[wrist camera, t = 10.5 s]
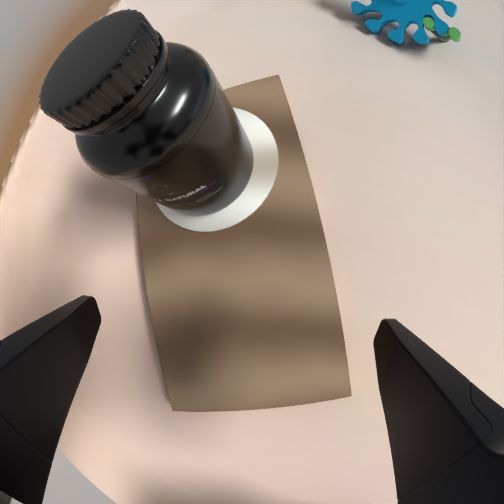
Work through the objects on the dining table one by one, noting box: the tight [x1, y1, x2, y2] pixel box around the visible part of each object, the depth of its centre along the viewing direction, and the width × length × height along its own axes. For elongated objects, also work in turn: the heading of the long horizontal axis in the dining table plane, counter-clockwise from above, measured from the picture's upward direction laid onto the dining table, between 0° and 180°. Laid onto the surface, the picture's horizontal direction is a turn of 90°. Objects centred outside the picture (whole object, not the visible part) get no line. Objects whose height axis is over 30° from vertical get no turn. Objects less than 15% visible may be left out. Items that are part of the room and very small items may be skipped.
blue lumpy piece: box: [351, 0, 461, 45], centre depth 15 cm, size 11×6×10 cm
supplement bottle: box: [39, 9, 254, 216], centre depth 12 cm, size 7×7×12 cm
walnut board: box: [136, 75, 351, 412], centre depth 18 cm, size 22×12×1 cm, turn 11°
